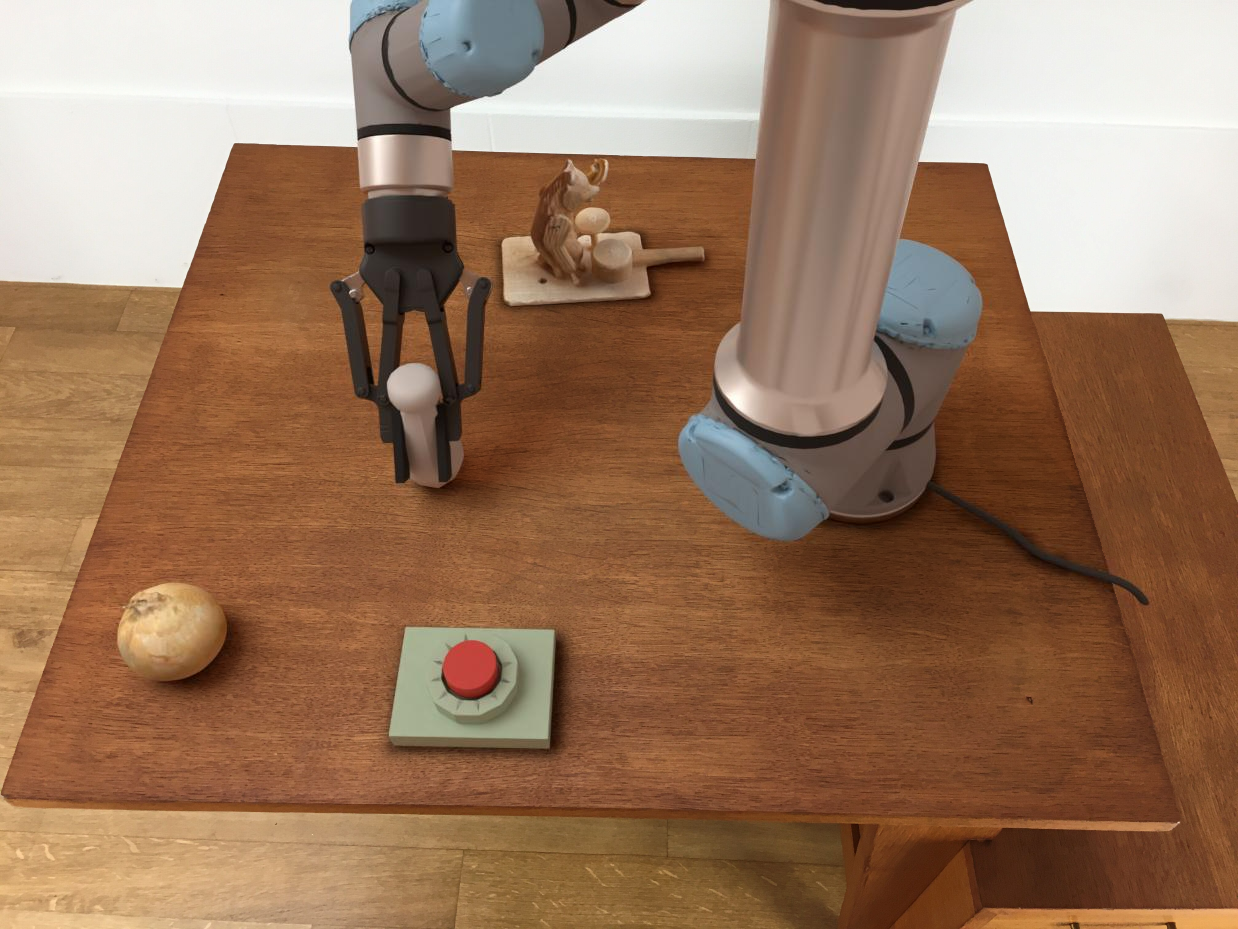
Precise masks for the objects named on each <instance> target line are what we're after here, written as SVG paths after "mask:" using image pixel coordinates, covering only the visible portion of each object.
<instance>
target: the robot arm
mask: <svg viewBox="0 0 1238 929" xmlns="http://www.w3.org/2000/svg"><path fill="white" fill-rule="evenodd" d="M973 1H974V0H769V11H768V22H767V32H766V43H765V54H764V62H763V63H764V64H763V73H762V85H761V86H762V87H761V95H760V96H761V97H760V107H759V119H758V128H757V140H756V151H755V164H754V173H753V184H752V194H751V205H750V214H749V215H750V216H749V217H750V218H749V227H748V237H747V238H748V239H747V249H746V259H745V270H744V281H743V292H742V301H741V302H742V304H741V313H740V321H739V322H738V323H735V325H733V326H732V327H731V329H729V330H728V332H727V333H726V334H725V335H724V336H723V338H722V340H721V341H720V343H719V344H718V347H717V349H716V352H715V356H714V362H713V372H712V373H713V374H712V390H711V396H710V397H711V398H710V399H709V401H708V402H707V404H706V405H705V407H704V408H703V409H702V410H701V411H700V412H698V413H695V414H693V415H691V416H690V417H689V419H688V421H687V423H686V424H685V425H684V426H683V428H682V430H681V431H680V433H679V435H678V438H677V439H678V442H677V449H678V453H679V457H680V460H681V464H682V465H683V467H684V469H685V471H686V473H687V474H688V476H689V477H690V479H691V481H692V482H693V483H694V485H695V486H696V487H697V488H698V489H699V490H700V492H701V493H702V494H703V495H704V496H705V498H706V499H707V500H708V501H709V502H710V503H711V504H713V505H714V506H715V507H716V508H717V509H718V510H719V512H721V513H723V514H724V515H725V516H727V517H728V519H730V520H732V521H733V522H734V523H736V524H737V525H739V526H740V527H743V528H744V529H745V530H748V531H749V532H751V533H753V534H755V535H757V536H758V537H759V536H760V537H762V538H765V539H768V540H771V541H780V542H795V541H797V540H800V539H802V538H804V537H806V536H807V535H808V534H809V533H810V532H811V531H812V530H814V529H815V528H816V527H817V526H819V524H820V523H821V522H823V521H826V520H827V519H830V520H833V521H838V522H842V523H850V524H871V523H878V522H882V521H883V522H884V521H886V520H889V519H892V518H895V517H897V516H899V515H901V514H903V513H904V512H906V511H907V510H910V508H912V507H913V506H914V505H915V504H916V503H917V502H919V500H920V499H921V497H922V496H923V494H924V493H925V491H926V489H927V490H929V491H930V492H933V493H935V494H936V495H938V496H940V497H942V498H944V499H945V500H946V501H949V502H951V503H952V504H954V505H956V506H958V507H959V508H961V509H963V510H965V511H966V512H968V513H969V514H972V515H973V516H975V517H977V518H979V519H981V520H983V521H984V522H987V523H989V524H990V525H992V526H994V527H995V528H996V529H999V530H1000V531H1002V532H1004V533H1005V534H1006V535H1008V536H1009V537H1011V538H1012V539H1013V540H1015V542H1016V543H1017V544H1019V545H1020V546H1021V547H1022V548H1023V549H1025V550H1026V551H1027V552H1028V553H1030V554H1031V555H1033V556H1034V557H1036V558H1038V559H1040V560H1042V561H1045V562H1047V563H1050V564H1052V565H1055V566H1058V567H1061V568H1064V569H1066V570H1069V571H1071V572H1075V573H1078V574H1081V575H1084V576H1086V577H1090V578H1094V579H1097V580H1100V581H1104V582H1107V583H1111V584H1113V585H1116V586H1118V587H1120V588H1122V589H1124V590H1126V591H1127V592H1129V593H1130V594H1131V595H1133V596H1134V597H1135V599H1136V600H1137V601H1138V602H1139V604H1141V605H1143V606H1149V605H1150V601H1149V599H1148V598H1147V595H1145V593H1144V592H1143V591H1142V590H1141V589H1140V588H1138V587H1137V586H1136V585H1135V584H1133V583H1132V582H1130V581H1129V580H1127V579H1124V578H1122V577H1120V576H1117V575H1114V574H1111V573H1109V572H1106V571H1102V570H1099V569H1094V568H1091V567H1088V566H1084V565H1081V564H1078V563H1076V562H1074V561H1071V560H1068V559H1065V558H1063V557H1060V556H1057V555H1053V554H1052V553H1049V552H1047V551H1044V550H1043V549H1040V548H1038V547H1037V546H1036V545H1034V544H1032V542H1030V541H1029V540H1028V539H1027V538H1025V537H1024V535H1023V534H1021V533H1020V532H1019V531H1017V530H1016V529H1015V528H1014V527H1012V526H1011V525H1009V524H1008V523H1006V522H1004V521H1002V520H1001V519H1000V518H997V517H995V516H994V515H992V514H990V513H989V512H987V511H985V510H983V509H981V508H979V507H977V506H975V505H973V504H972V503H970V502H968V501H966V500H965V499H963V498H961V497H959V496H957V495H956V494H954V493H952V492H951V491H949V490H947V489H945V488H943V487H942V486H940V485H938V484H936V483H934V482H933V481H931V479H932V476H933V474H934V469H935V464H936V458H937V447H936V432H935V430H936V429H935V419H936V417H937V415H938V413H939V411H940V410H941V406H942V405H943V402H944V400H945V398H946V396H947V394H948V391H949V390H950V387H951V385H952V384H953V380H954V379H955V376H956V374H957V372H958V369H959V368H960V365H961V363H962V361H963V359H964V357H965V355H966V353H967V351H968V348H969V346H970V344H972V343H973V342H974V340H975V338H976V335H977V333H978V324H979V321H980V319H981V315H982V312H983V296H982V293H981V291H980V289H979V287H978V286H976V281H975V279H974V277H973V276H972V274H971V273H970V272H969V271H968V270H967V269H966V268H965V266H964V265H962V264H961V263H960V262H958V261H957V260H956V259H955V258H953V257H952V256H950V255H948V254H947V253H945V252H943V251H941V250H939V249H938V248H935V247H933V246H930V245H927V244H925V243H923V242H918V241H916V240H912V239H905V238H900V237H901V233H902V229H903V225H904V221H905V217H906V214H907V209H908V205H909V201H910V197H911V193H912V190H913V185H914V181H915V178H916V173H917V170H918V165H919V161H920V157H921V155H922V154H921V153H922V149H923V146H924V141H925V137H926V133H927V129H928V125H929V122H930V118H931V114H932V110H933V106H934V103H935V98H936V94H937V89H938V86H939V82H940V78H941V74H942V70H943V66H944V63H945V58H946V55H947V50H948V46H949V43H950V39H951V38H950V37H951V34H952V30H953V26H954V22H955V19H956V14H957V11H958V10H960V9H961V8H963V7H964V6H966V5H968V4H970V3H971V2H973ZM644 2H647V0H351V2H350V5H349V35H348V49H349V54H350V59H351V71H352V84H353V85H352V86H353V96H354V97H353V98H354V111H355V124H356V140H357V143H356V144H357V145H356V146H357V160H358V162H357V163H358V179H359V190H360V191H361V192H362V193H363V194H365V195H367V198H366V199H364V200H363V203H361V204H360V207H361V209H360V210H361V222H362V240H363V256H362V259H361V261H360V263H359V267H358V271H357V272H355V273H353V274H351V275H349V276H346V277H345V278H343V279H335V280H332V282H331V283H330V285H329V290H330V292H331V294H332V296H333V297H334V299H335V301H336V303H337V305H338V307H339V308H340V311H341V317H342V323H343V324H342V325H343V330H344V331H343V332H344V337H345V344H346V349H347V355H348V362H349V368H350V373H351V379H352V380H351V381H352V387H353V390H354V391H353V392H354V395H355V396H356V398H358V399H362V400H366V401H370V402H372V403H373V404H375V405H376V406H377V410H378V421H379V437H380V439H381V442H382V444H392V450H393V451H392V452H393V464H394V481H395V482H394V483H395V484H405V483H407V482H408V480H410V465H409V460H408V455H407V451H406V445H405V438H404V432H403V426H402V420H401V414H400V410H398V409H397V408H396V407H395V406H394V405H393V403H392V402H391V401H390V399H389V396H388V390H387V381H388V379H389V377H390V375H391V373H393V372H394V371H395V370H396V369H397V368H398V367H400V366H401V354H402V343H403V333H404V332H403V330H404V323H405V321H406V313H411V312H414V311H415V312H420V313H424V317H425V321H426V324H427V327H428V331H429V338H430V341H431V346H432V351H433V356H434V361H435V366H436V370H437V375H438V377H439V380H440V386H441V395H442V396H441V397H442V398H441V401H440V402H441V404H439V405H437V406H436V407H437V413H438V414H437V416H436V417H435V424H436V443H437V461H438V479H439V482H448V481H449V480H450V478H451V477H452V466H451V448H450V442H449V441H459V440H461V439H462V435H463V423H462V403H463V401H464V400H465V399H468V398H470V397H473V396H476V395H477V394H479V392H480V391H481V390H482V388H483V365H484V342H485V324H486V323H485V321H486V305H487V303H488V300H489V298H490V296H491V294H492V291H493V290H494V281H493V280H492V279H491V278H490V277H486V276H481V275H478V274H476V273H474V272H472V271H469V270H468V269H465V264H464V261H463V260H462V259H461V257H460V255H459V252H458V236H457V219H456V217H457V216H456V204H455V203H454V202H453V200H452V199H450V198H449V196H448V195H450V194H452V193H453V191H454V190H455V178H454V176H455V175H454V160H453V159H454V158H453V145H452V142H453V140H452V138H453V137H452V124H451V122H452V119H451V118H452V116H451V113H452V112H451V109H453V108H455V107H457V106H460V105H463V104H466V103H469V102H474V101H476V100H479V99H483V98H485V97H487V98H493V97H496V96H499V95H502V94H503V92H504V91H506V90H507V89H510V88H512V87H514V86H516V85H517V84H519V83H522V82H523V81H524V80H525V79H527V78H528V77H529V76H530V75H531V74H532V73H533V71H534V70H535V68H536V67H537V66H538V65H540V64H542V63H543V62H545V61H547V60H548V59H550V58H551V57H553V56H555V55H556V54H559V53H560V52H562V51H563V50H565V49H566V48H567V47H569V46H570V45H572V44H574V43H576V42H577V41H579V40H581V39H583V38H584V37H586V36H588V35H590V34H591V33H594V32H595V31H596V30H599V29H601V28H602V27H603V26H605V25H607V24H609V23H610V22H612V21H614V20H615V19H618V18H619V17H622V16H623V15H625V14H627V13H629V12H630V11H633V10H635V9H636V8H637V7H639V6H640V5H642V4H643V3H644ZM460 282H461V284H462V285H463V292H462V293H463V295H464V297H465V298H467V299H468V303H467V310H466V311H467V312H466V333H465V354H464V355H465V356H464V376H463V377H464V380H463V381H464V382H463V383H460V382H459V377H458V372H457V366H456V362H455V356H454V351H453V347H452V342H451V337H450V336H451V335H450V332H449V331H450V330H449V326H448V318H447V312H446V307H445V305H446V303H447V302H448V300H449V298H450V296H451V295H452V294H453V292H454V291H455V289H456V287H457V286H458V285H459V283H460ZM365 285H366V286H367V287H368V288H369V289H370V291H371V293H373V294H374V296H375V297H376V299H377V300H378V301H379V302H380V303H381V304H382V316H381V322H382V329H381V333H382V334H381V342H380V354H379V364H378V366H379V367H378V376H377V377H378V378H377V384H375V378H374V373H373V372H374V371H373V365H372V358H371V353H370V346H369V340H368V335H367V334H368V333H367V327H366V321H365V315H364V310H363V309H364V308H363V306H362V303H361V301H362V300H364V297H365V292H364V286H365ZM449 482H450V481H449ZM449 482H448V483H449Z"/></svg>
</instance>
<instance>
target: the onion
mask: <svg viewBox="0 0 1238 929" xmlns="http://www.w3.org/2000/svg"><path fill="white" fill-rule="evenodd" d="M121 608H122V609H124V612H123V614H122V616H121V619H120V621H119V623H118V628H117V634H116V635H117V636H116V640H117V647H118V651H119V654H120V655H121V657H122V659H123V661H124V663H125V664H126V665H127V667H128V668H129V669H130V670H131V671H132V672H134V673H135V674H136V675H137V676H139V677H142V678H144V679H147V680H152V681H159V682H170V681H178V680H179V681H180V680H184V679H186V678H189V677H191V676H193V675H196V674H197V673H198V674H199V673H200V672H201V671H203V670H204V669H206V668H207V667H208V665H210V664H211V663H212V662H213V661H214V659H215V658H216V657H217V655H218V654H219V653H220V651H221V650H222V647H223V645H224V644H225V641H226V637H227V633H228V632H227V631H228V623H227V619H226V614H225V612H224V610H223V608H222V606H221V604H220V603H219V602H218V600H217V599H216V598H215V597H214V596H213V595H212V594H211V593H209V591H207V590H205V589H204V588H202V587H199V586H197V585H193V584H189V583H184V582H166V583H161V584H158V585H154V586H152V587H148V588H146V589H144V590H141V591H138V592H137V593H135V594H134V595H133V596H132V597H131V598H130V600H129V601H128V604H127V605H122V607H121Z"/></svg>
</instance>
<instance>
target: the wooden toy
mask: <svg viewBox="0 0 1238 929" xmlns="http://www.w3.org/2000/svg"><path fill="white" fill-rule="evenodd" d="M608 172H609V162H608V160H607V159H605V158H597V159H596V158H594V159H593V160H592V163H591V165H589V166H588V167H587V168H586V169H585V170H584V171H582V170H580V169H579V168H577V167H575V165H574V163H573V161H572V159H569V158H567V159H566V160H565V162H564V164H563V166H562V168H561V169H560V170H559V171H558V172H557V173H556V175H555V176H554V177H553V178H552V179H551V180H550V182H549V183H548V184H546V185H543V186H542V187H541V188H540V189H539V191H538V196H539V201H538V204H537V206H536V210H535V214H534V218H533V220H532V223H531V226H530V230H529V231H530V232H529V233H530V235H528V236H527V235H526V236H510V237H505V238H504V239H503V240H502V241H501V244H500V245H501V246H500V247H501V248H500V251H501V268H502V284H503V286H502V296H503V297H502V298H503V303H504V304H506V305H507V306H510V307H517V306H537V305H554V304H572V303H574V304H575V303H589V302H603V301H604V302H607V301H620V300H621V301H622V300H641V299H645V298H648V297H649V296H651V290H650V289H651V288H650V284H649V277H648V272H647V268H648V267H651V266H658V265H664V264H668V263H676V262H677V263H683V262H701V263H702V262H704V261H705V249H704V247H703V246H701V245H698V246H681V247H664V248H662V247H660V248H647V249H646V248H645V249H644V248H643V245H642V241H641V236H640V234H639V233H636V232H634V231H620V232H614V233H611V232H605V231H607V230H608V228H609V226H610V223H611V216H610V214H609V213H608V212H607V211H606V210H605V209H603V208H601V207H593V206H591V207H586V208H583V209H582V210H580V211H578V210H579V209H580V207H581V206H582V205H583V204H584V203H588V204H589V203H593V202H594V199H595V197H597V196H598V194H599V193H600V186H602V185H603V183H605V182H606V180H607V177H608V174H609V173H608ZM576 211H578V212H577V214H576V215H575V217H574V212H576Z"/></svg>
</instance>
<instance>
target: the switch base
mask: <svg viewBox="0 0 1238 929" xmlns="http://www.w3.org/2000/svg"><path fill="white" fill-rule="evenodd" d="M468 640H476V641H480V642H483V643H485V644H486V645H488V646H489V647H490V648H491V649H492V650H493V652H494V654H495V656H496V660H497V665H498V678H497V681H496V683H495V685H494V686H493V688H492V689H491V690H490V691H489V692H487V693H486V694H484V695H482V696H480V697H477V698H464V697H460V696H458V695H456V694H455V693H454V692H453V691H452V690H451V689H450V688H449V686H448V684H447V681H446V678H445V675H444V672H443V663H444V659H445V657H446V655H447V653H448V652H449V651H450V649H451V648H452V647H454V646H455V645H457V644H458V643H461V642H463V641H468ZM556 643H557V640H556V631H555V629H547V628H546V629H545V628H544V629H542V628H493V627H491V628H487V627H485V628H484V627H438V626H437V627H434V626H433V627H432V626H429V627H428V626H405V627H404V635H403V640H402V647H401V655H400V660H399V666H398V673H397V678H396V686H395V693H394V699H393V705H392V712H391V718H390V723H389V725H390V726H389V731H388V738H389V740H390V741H391V743H392V745H393V747H436V748H437V747H441V748H443V747H444V748H445V747H446V748H495V749H496V748H498V749H503V748H504V749H544V750H547V749H550V748H551V734H552V733H551V730H552V713H553V697H554V695H553V694H554V679H555V677H554V676H555V662H556V661H555V660H556V646H557V645H556Z"/></svg>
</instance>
